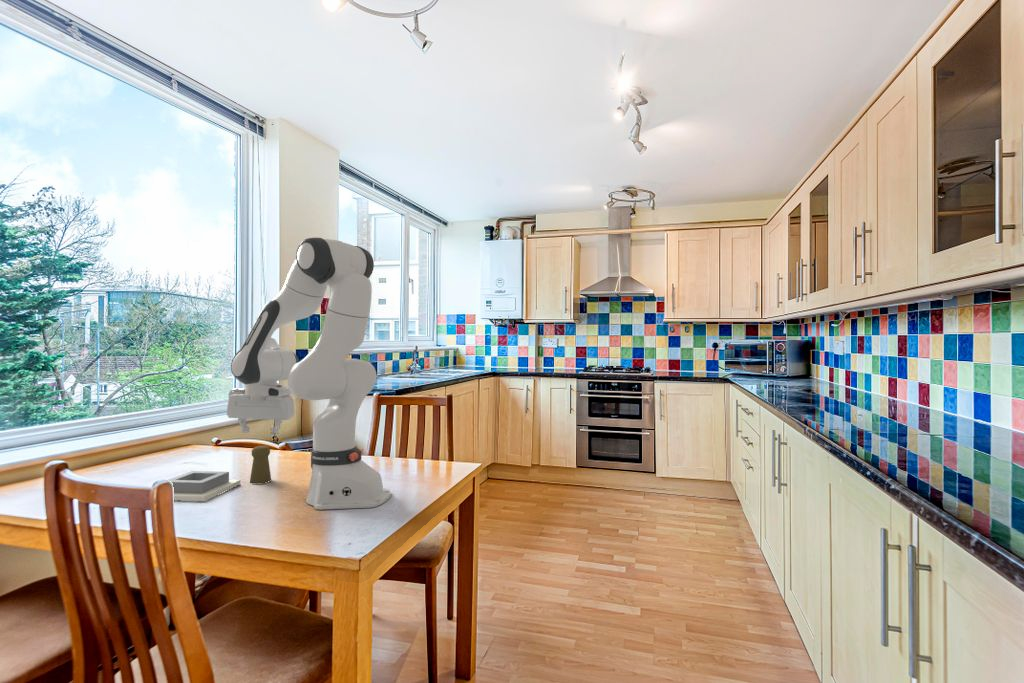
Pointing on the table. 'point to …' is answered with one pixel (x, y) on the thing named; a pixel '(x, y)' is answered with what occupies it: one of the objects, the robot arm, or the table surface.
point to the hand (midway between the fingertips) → (260, 433)
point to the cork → (260, 465)
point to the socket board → (207, 494)
